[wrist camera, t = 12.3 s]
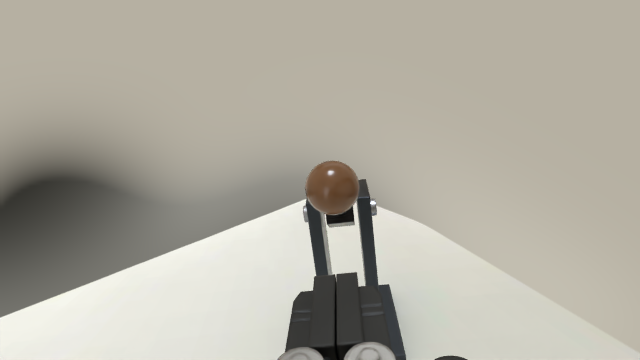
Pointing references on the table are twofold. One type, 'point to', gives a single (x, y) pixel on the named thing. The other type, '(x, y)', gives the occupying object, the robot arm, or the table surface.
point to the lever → (333, 192)
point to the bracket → (323, 262)
